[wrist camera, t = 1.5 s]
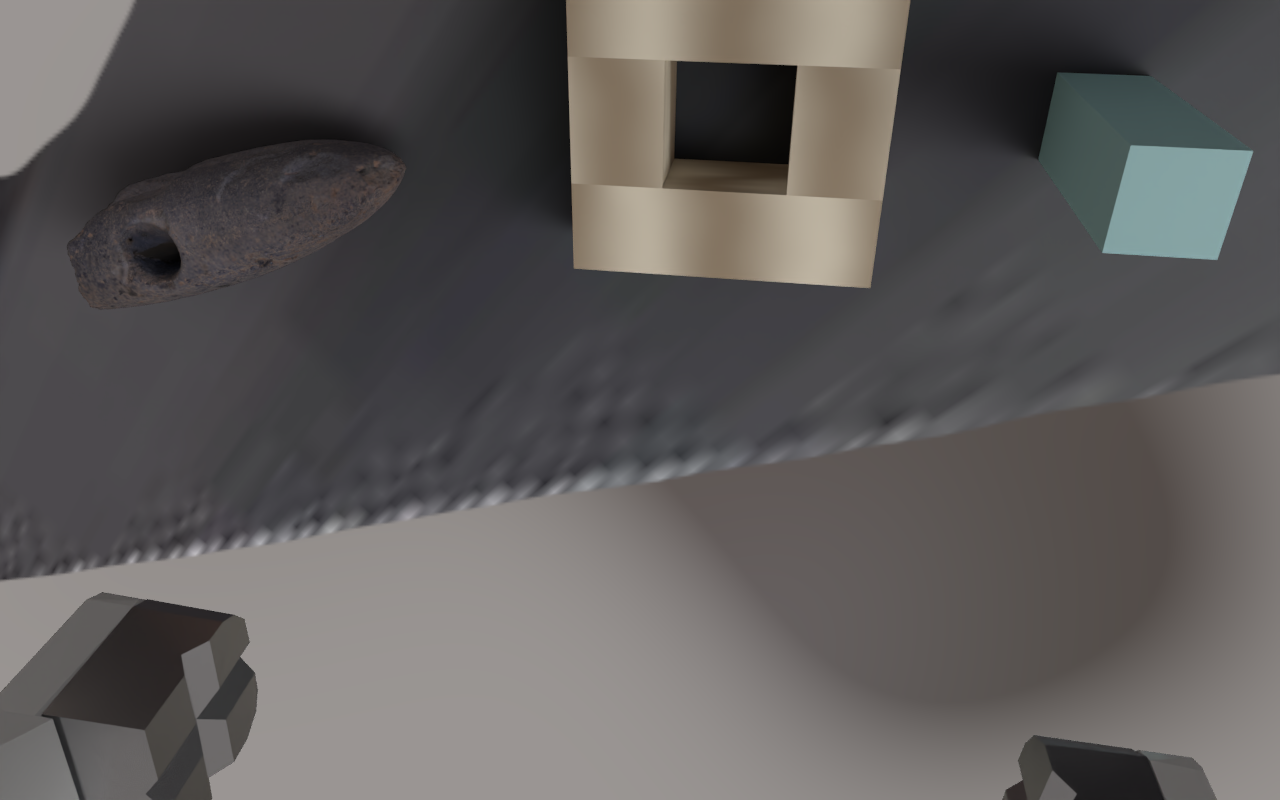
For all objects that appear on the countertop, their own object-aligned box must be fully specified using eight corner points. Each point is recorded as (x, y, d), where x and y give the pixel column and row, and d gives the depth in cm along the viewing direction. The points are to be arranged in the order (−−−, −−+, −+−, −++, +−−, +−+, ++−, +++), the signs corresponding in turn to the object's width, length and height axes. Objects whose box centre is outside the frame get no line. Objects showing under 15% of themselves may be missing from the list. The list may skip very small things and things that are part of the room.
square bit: (1150, 76, 37) (1253, 150, 28) (1127, 164, 39) (1217, 259, 30) (1057, 72, 37) (1130, 145, 29) (1038, 159, 39) (1102, 252, 30)
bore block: (906, -55, 36) (916, -42, 32) (865, 250, 42) (870, 288, 39) (586, -62, 37) (564, -51, 34) (592, 234, 43) (574, 268, 40)
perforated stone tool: (403, 94, 42) (336, 138, 36) (448, 209, 44) (392, 268, 38) (120, 173, 46) (17, 225, 40) (175, 275, 48) (86, 338, 42)
